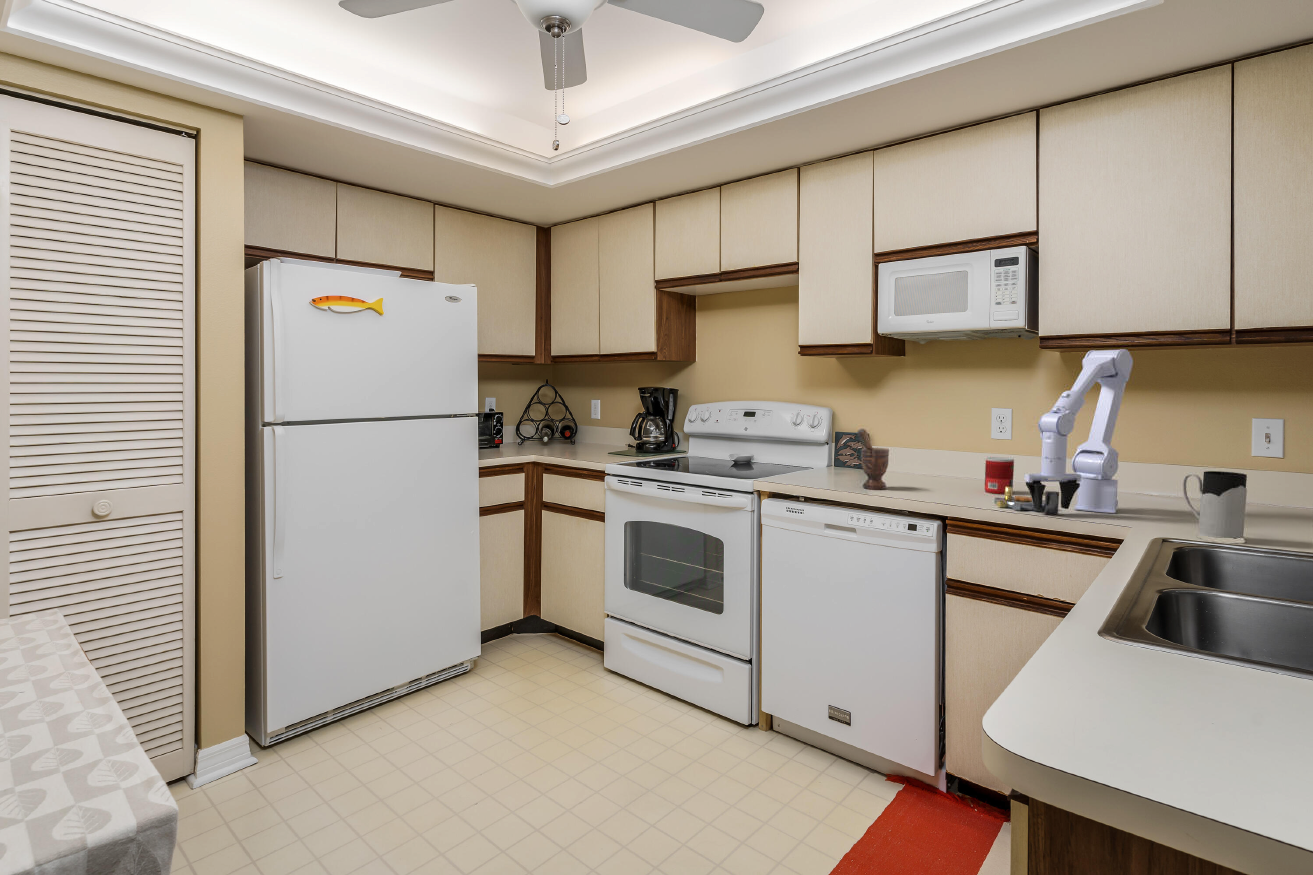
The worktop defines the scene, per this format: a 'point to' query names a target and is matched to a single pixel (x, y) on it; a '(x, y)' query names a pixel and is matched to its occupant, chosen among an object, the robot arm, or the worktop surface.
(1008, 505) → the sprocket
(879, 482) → the mortar and pestle
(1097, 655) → the worktop surface
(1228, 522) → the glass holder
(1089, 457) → the robot arm
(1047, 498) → the roller
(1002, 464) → the canned food
